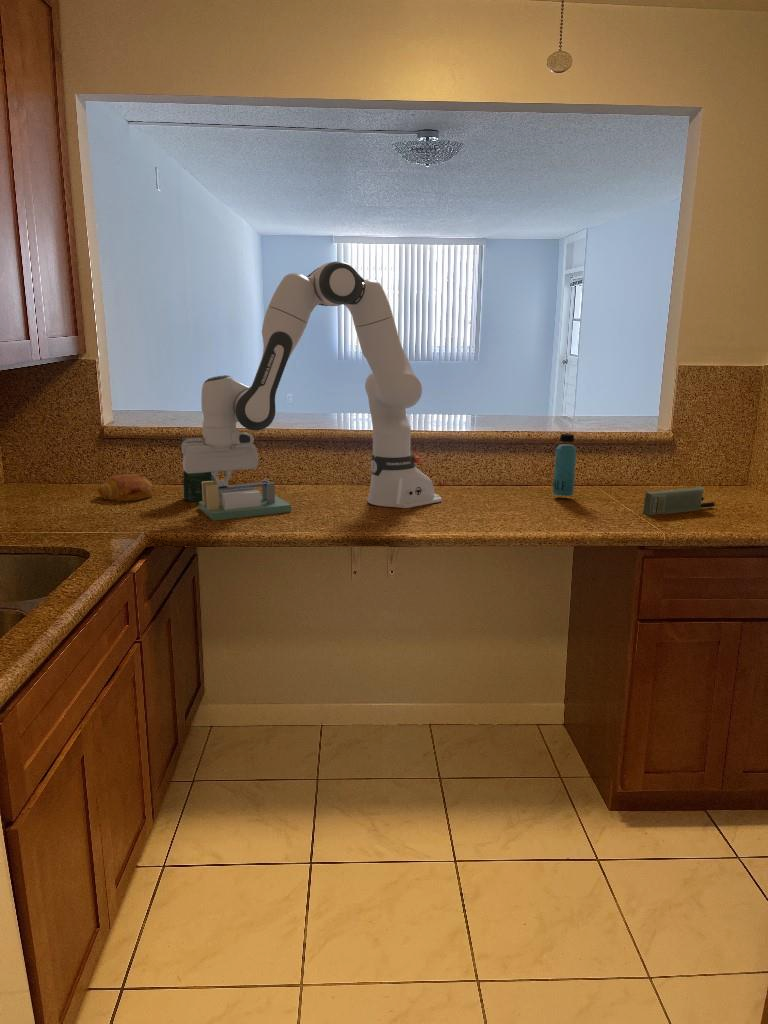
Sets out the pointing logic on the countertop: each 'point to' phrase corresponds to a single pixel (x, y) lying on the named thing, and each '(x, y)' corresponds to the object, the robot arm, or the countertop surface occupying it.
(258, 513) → the board
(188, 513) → the countertop surface
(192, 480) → the coffee jar
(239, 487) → the retention strap
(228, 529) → the countertop surface
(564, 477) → the beverage bottle
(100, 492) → the croissant
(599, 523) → the countertop surface
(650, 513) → the handheld radio
